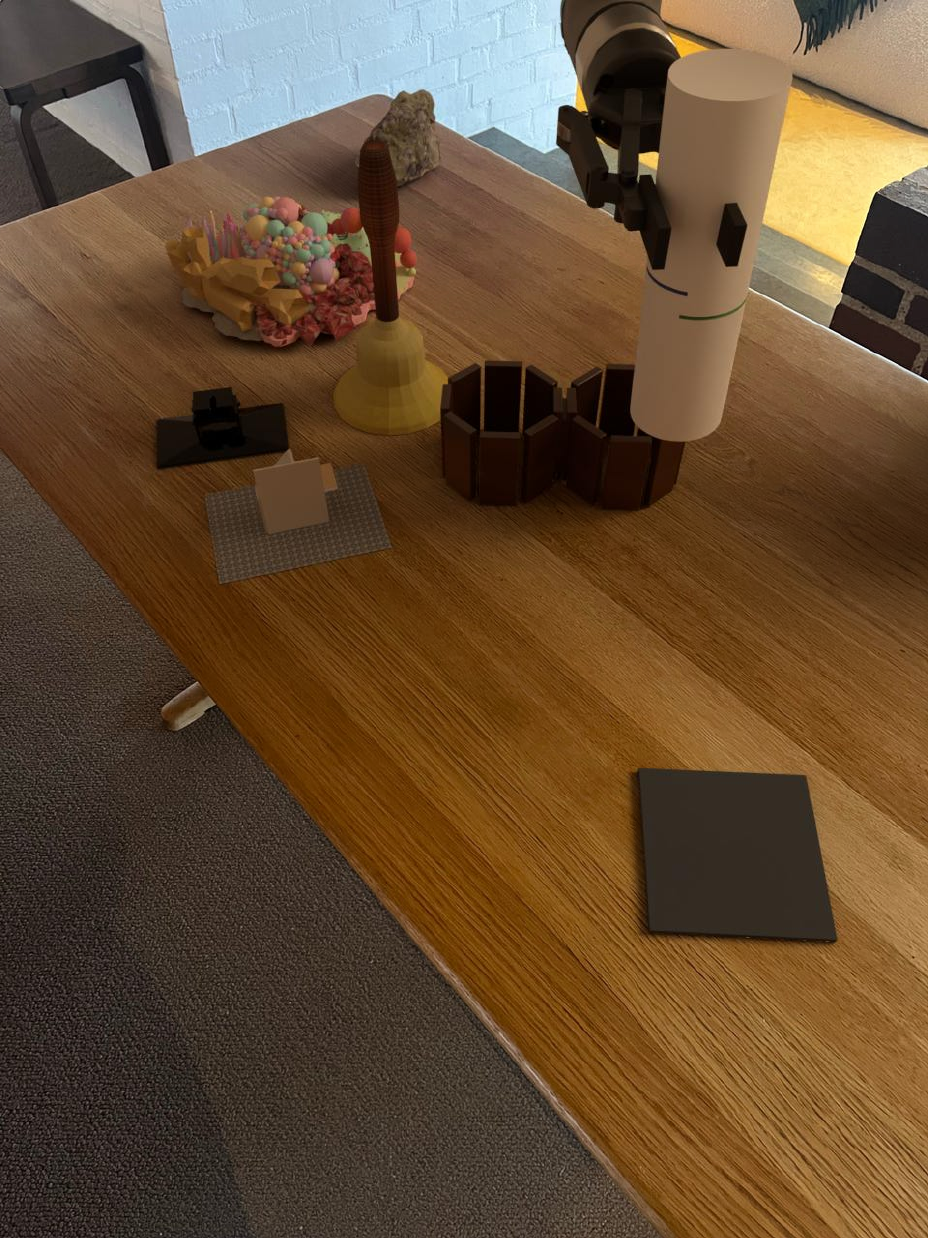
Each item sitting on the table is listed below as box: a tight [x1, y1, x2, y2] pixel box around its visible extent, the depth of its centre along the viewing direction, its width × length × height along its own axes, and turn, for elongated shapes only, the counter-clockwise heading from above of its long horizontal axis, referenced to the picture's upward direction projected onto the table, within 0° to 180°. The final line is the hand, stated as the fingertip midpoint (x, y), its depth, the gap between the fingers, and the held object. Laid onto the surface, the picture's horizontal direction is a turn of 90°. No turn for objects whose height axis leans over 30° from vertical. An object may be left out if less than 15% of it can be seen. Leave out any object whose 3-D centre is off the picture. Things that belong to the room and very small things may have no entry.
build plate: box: [156, 386, 290, 470], centre depth 91 cm, size 12×7×5 cm, turn 101°
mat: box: [637, 767, 839, 943], centre depth 65 cm, size 12×12×1 cm
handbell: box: [332, 140, 449, 437], centre depth 87 cm, size 12×12×25 cm
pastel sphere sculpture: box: [164, 195, 418, 349], centre depth 105 cm, size 25×24×9 cm
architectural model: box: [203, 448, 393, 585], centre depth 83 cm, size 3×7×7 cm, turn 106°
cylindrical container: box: [630, 48, 793, 442], centre depth 66 cm, size 7×7×25 cm
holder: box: [440, 359, 687, 511], centre depth 87 cm, size 22×11×8 cm, turn 87°
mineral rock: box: [355, 88, 442, 187], centre depth 121 cm, size 13×11×10 cm
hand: (699, 247), depth 58 cm, fingers open, 4 cm apart
